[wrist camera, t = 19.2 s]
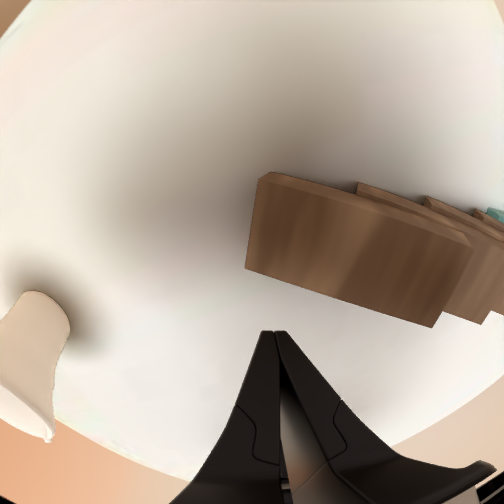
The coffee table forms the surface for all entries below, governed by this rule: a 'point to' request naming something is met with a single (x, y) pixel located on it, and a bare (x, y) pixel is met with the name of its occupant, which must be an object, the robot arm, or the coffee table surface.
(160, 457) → the coffee table surface
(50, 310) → the cup
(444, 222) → the brown wooden plank
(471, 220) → the brown wooden block
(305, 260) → the tile
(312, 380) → the robot arm
